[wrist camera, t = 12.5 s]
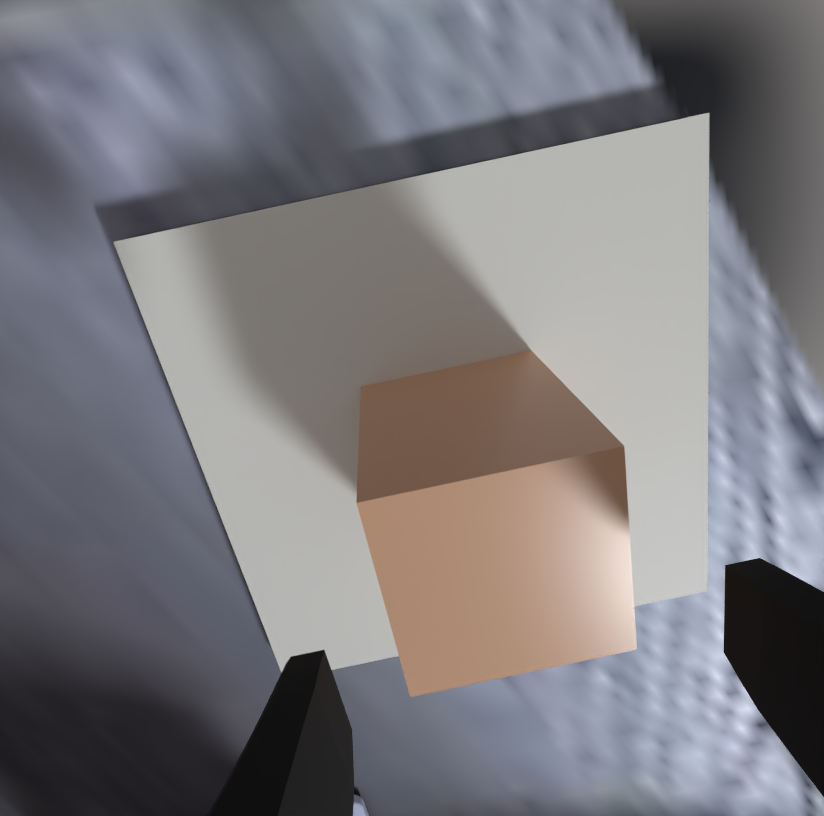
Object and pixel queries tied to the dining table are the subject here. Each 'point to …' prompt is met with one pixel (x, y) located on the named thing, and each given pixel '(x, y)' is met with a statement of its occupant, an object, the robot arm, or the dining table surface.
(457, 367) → the tan rectangular block
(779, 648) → the robot arm
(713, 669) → the dining table surface
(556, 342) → the white board
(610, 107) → the dining table surface
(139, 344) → the dining table surface
